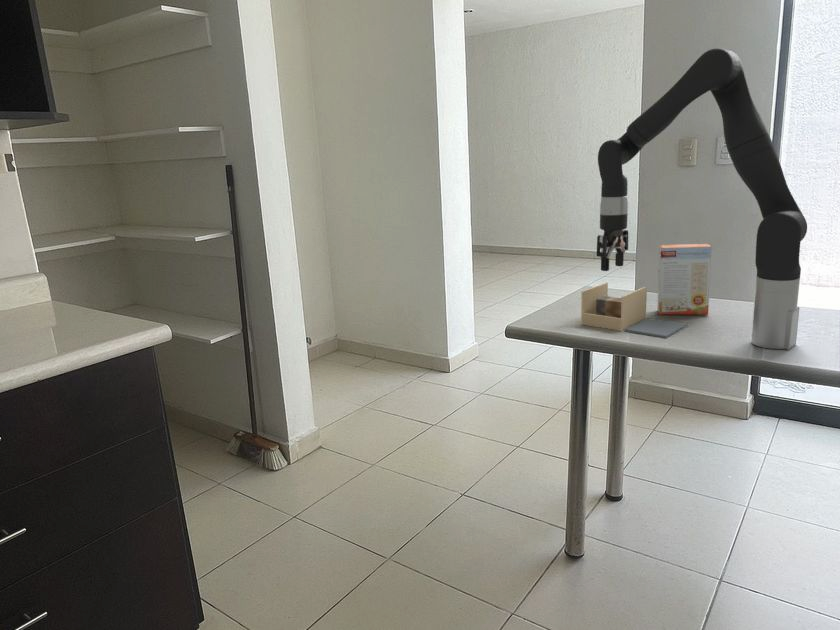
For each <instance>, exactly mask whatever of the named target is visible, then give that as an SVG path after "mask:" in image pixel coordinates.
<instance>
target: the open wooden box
mask: <svg viewBox="0 0 840 630" xmlns="http://www.w3.org/2000/svg"><path fill="white" fill-rule="evenodd" d="M608 284H609V282H607V281H606V282H604V283H602V284H598V285H595V286H593V287H591V288H588V289H585V290H582V291H581V300H580V301H581V302H580V303H581V307H580V309H581V311H580V312H581V313H580V315H581V317H580V318H581V319H580V320H581V321H580V322H581V323H580V325H583V326H589V327H596V328H600V327H601V329H606V328H608V329H607V330H612V329H613V331H619V332H623V331H624V330H625V329H626V328H628V327H630V326H632V325H634V324H636V323H638V322H640V321H642V320H644V319H646V318H647V295H648V294H647V293H648V287H647V286H643V287H641V288H639V289H636V290H634V291H631V292H628V293H627V294H624V295H621V297H620V298H621V318H615V317H608V316H601V315H596V299H598V298H600V297H603V296H608V297H609V295H608V293H609V291H608V290H609V287H608V286H609V285H608ZM624 332H625V331H624Z"/></svg>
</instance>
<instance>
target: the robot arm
mask: <svg viewBox="0 0 840 630" xmlns="http://www.w3.org/2000/svg"><path fill="white" fill-rule="evenodd" d="M709 91H710V93H711V94H712V96H713V98H714V100H715V102H716V104H717V106H718V109H719V110H720V113H721V118H722V124H723V125H722V126H723V135H724V142H725V146H726V147H725V148H726V150H727V152H728V154H729V157H730V159H731V162H732V164H733V167H734V169H735V171H736V172H737V174H738V176H739V178H741V180H742V182H743V183H744V184H745V185H746V186H747V188H748V189H749V191H750V193H752V195H753V197H755V200H756V202H757V204H758V208H759V210H760V214H761V216H762V220H761V222H760V223H759V225H758V228H757V233H756V242H755V243H756V245H755V260H754V261H755V267H756V280H755V292H754V304H753V315H752V318H753V319H752V328H751V329H752V330H751V344H753V345H754V346H756V347H760V348H764V349H770V350H771V349H772V350H791V349H792V348H793V347H794V346H795V345H796V344H797V339H798V328H799V326H798V325H799V318H800V306H798V303H799V290H800V281H801V272H802V268H801V265H800V252H801V242H802V241H803V240H804V238H805V237H806V235H807V231H808V222H807V220H806V217H805V216H804V214H803V212H802V211H801V209H800V207H799V205H798V204H797V201H796V200H795V198H794V196H793V194H792V193H791V190H790V189H789V187H788V184H787V181H786V178H785V177H786V176H785V174H784V170H783V168H782V165H781V163H780V159H779V157H778V154H777V151H776V149H775V145H774V144H773V141H772V138H771V136H770V134H769V131H768V130H767V127H766V125H765V122H764V120H763V119H762V116H761V114H760V112H759V110H758V109H757V106H756V105H755V102H754V100H753V98H752V95H751V93H750V89H749V86H748V82H747V78H746V74H745V71H744V67H743V63H742V61H741V58H740V57H739V56H738V54H737V53H736V52H734V51H732V50H729V49H725V48H722V47H719V48H718V47H717V48H711V49H708V50H707V51H705V52H703V53H702V54H701V55H700V56H699V57H698V58H697V59H696V61H694V62H693V64H692V65H691V66H690V67H689V68H688V69H687V71H686V72H685V73H684V74H683V75H682V76H681V77H680V79H679V80H678V81H676V83H674V85H673V86H672V87H670V89H669V90H667V91H666V93H665V94H663V95H662V96H661V97H660V98H659V99H658V100H657V101H656V102H654V103H653V104H652V105H651V106H650V107H649V108H647V109H646V110H645V111H643V113H641V114H639V115H640V116H638V117H636V118H635V119H634V120H633V121H632V122H631V123H630V124H629V125H628V126H627V127H626V132H625V133H623V135H621V137H619V138H617V139H609V140H606V141H604V142H603V143H602V144H601V146H600V147H599V149H598V153H597V164H598V171H599V174H600V180H601V187H600V188H601V193H600V194H601V198H600V205H599V206H600V207H599V229H600V230H602V231H604V232H603V235H600V234H598V235H597V239H596V257H599V258H600V270H601V271H602V272H608V271H610V256H611V253H612V252H614V251H615V261H614V262H615V266H616V267H622V266H624V261H625V260H624V259H625V258H624V257H625V256H624V255H625V253H626V251H628V250H629V230H627V228H628V215H629V213H628V212H629V211H628V210H629V202H628V177H627V176H626V175H625V174H624V173H623V165H625V164H627V163H628V162H630V161H631V160H632V159H633V158H634V157H636V155H638V153H639V152H640V151H641V150H642V149H643V148H644V147H645V146H646V145H647V144H649V142H651V141H653V140H654V139H655V138H656V137H658V135H660V134H661V133H662V132H663V131H665V130H666V129H667V128H668V127H669V126H670V125H671V124H672V123H673V122H674V120H676V118H677V117H678V116H679V115H680V113H681V112H683V110H684V109H685V108H686V107H688V106H689V105H690V104H691V103H692V102H694V101H695V100H697V99H698V98H700V97H702V96H703V95H704V94H706V93H708V92H709Z"/></svg>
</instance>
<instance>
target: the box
mask: <svg viewBox="0 0 840 630" xmlns="http://www.w3.org/2000/svg"><path fill="white" fill-rule="evenodd" d="M596 315H601V316H608V317H615V318H621V297H614V296H609V295H608V296H603V297H600V298H598V299H596Z"/></svg>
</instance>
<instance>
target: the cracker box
mask: <svg viewBox="0 0 840 630" xmlns="http://www.w3.org/2000/svg"><path fill="white" fill-rule="evenodd" d="M711 264H712V246H711V245H710V244H708V243H689V244H687V243H686V244H685V243H683V244H682V243H680V244H660V245H659V246H658V277H657V278H658V279H657V280H658V281H657V282H658V283H657V312H658V315H661V316H663V315H665V316H668V315H669V316H670V315H678V316H679V315H681V316H683V315H685V316H686V315H690V316H691V315H692V316H693V315H694V316H696V315H697V316H700V315H701V316H703V315H704V316H707V315H709V308H710V307H709V306H710V304H709V302H710V286H711V285H710V284H711V283H710V282H711V269H712V268H711V267H712V265H711Z"/></svg>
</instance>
